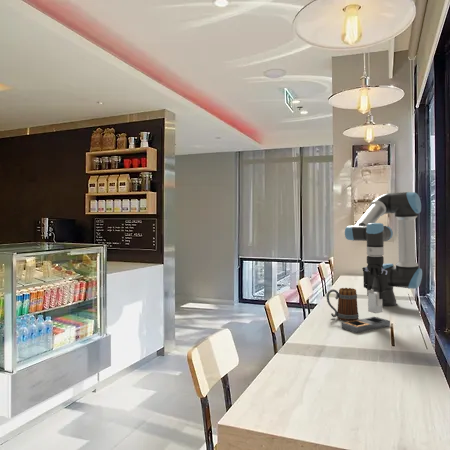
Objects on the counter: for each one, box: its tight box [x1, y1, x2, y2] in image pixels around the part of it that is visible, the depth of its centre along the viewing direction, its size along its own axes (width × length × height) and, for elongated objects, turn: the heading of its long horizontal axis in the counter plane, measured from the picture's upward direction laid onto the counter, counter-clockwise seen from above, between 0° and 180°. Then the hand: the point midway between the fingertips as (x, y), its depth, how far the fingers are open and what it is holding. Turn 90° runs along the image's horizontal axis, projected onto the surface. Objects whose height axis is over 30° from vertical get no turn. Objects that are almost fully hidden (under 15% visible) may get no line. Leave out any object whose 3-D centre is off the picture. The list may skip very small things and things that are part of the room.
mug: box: [326, 287, 360, 322], centre depth 203 cm, size 16×11×15 cm
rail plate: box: [341, 316, 391, 334], centre depth 188 cm, size 22×9×3 cm, turn 119°
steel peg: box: [367, 292, 383, 314], centre depth 191 cm, size 4×4×9 cm
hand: (375, 304), depth 191 cm, fingers closed on steel peg, 4 cm apart
